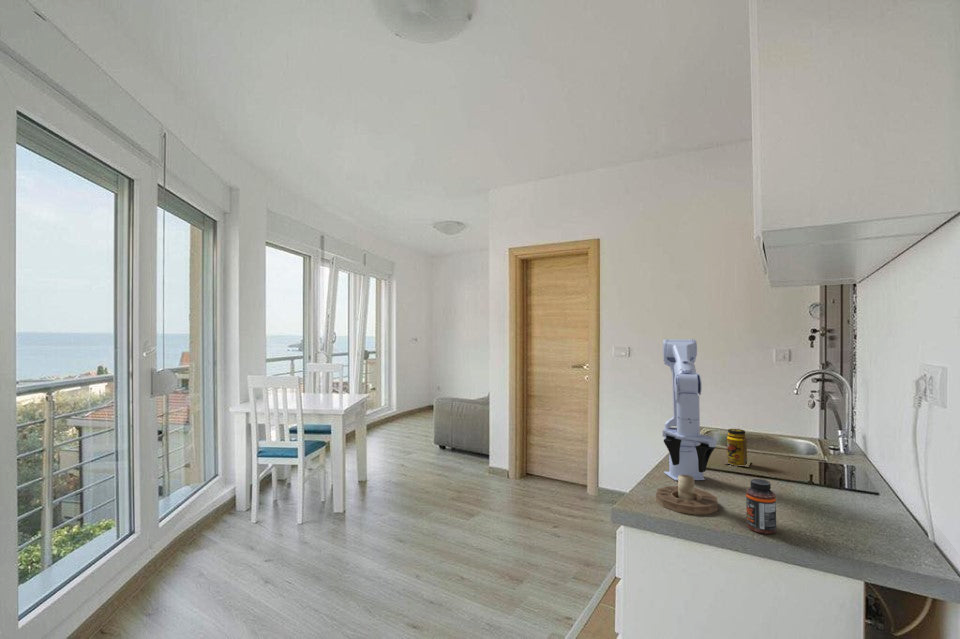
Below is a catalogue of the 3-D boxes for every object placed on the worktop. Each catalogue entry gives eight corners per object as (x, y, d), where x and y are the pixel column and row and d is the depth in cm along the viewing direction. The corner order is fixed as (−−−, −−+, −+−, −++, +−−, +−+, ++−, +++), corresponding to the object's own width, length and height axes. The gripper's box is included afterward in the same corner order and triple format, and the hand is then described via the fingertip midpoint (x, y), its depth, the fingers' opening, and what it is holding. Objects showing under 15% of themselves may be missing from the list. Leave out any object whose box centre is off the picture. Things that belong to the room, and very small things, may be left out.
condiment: (724, 464, 157) (723, 430, 157) (728, 459, 163) (728, 426, 164) (748, 468, 152) (747, 433, 152) (752, 462, 159) (751, 428, 159)
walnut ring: (697, 492, 130) (697, 485, 130) (730, 513, 115) (729, 505, 115) (647, 493, 129) (647, 486, 129) (673, 515, 114) (673, 507, 114)
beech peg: (689, 500, 124) (689, 474, 125) (697, 505, 120) (697, 479, 121) (675, 500, 124) (675, 474, 124) (683, 506, 120) (682, 479, 120)
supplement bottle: (741, 524, 109) (740, 476, 109) (766, 524, 109) (765, 477, 109) (755, 535, 103) (754, 485, 103) (782, 535, 103) (781, 485, 103)
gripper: (655, 415, 127) (656, 463, 127) (705, 424, 115) (706, 477, 115) (670, 412, 131) (671, 459, 131) (720, 421, 119) (721, 472, 119)
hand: (688, 467), depth 123 cm, fingers open, 7 cm apart
